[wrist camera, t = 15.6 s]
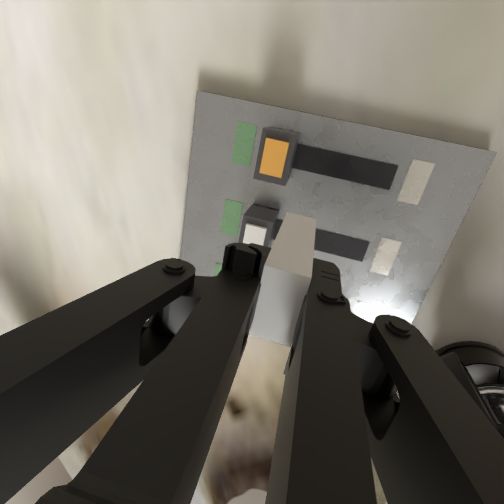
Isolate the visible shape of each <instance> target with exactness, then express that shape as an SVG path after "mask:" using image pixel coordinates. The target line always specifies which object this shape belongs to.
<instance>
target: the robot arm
mask: <svg viewBox="0 0 504 504" xmlns="http://www.w3.org/2000/svg"><path fill="white" fill-rule="evenodd" d="M315 231H316V219H314V218H310V217H306V216H302V215H297V214H293V213H289V212H287V213H286V215H285V218H284V220H283V222H282V225H281V227H280V230H279V232H278V234H277V237H276V239H275V241H274V244H273V246H272V248H270V247H266V246H262V245H258V244H254V243H250V244H246V243H231V244H228V245H226V246H225V251H224V257H223V263H222V269H221V271H220V272H219V273H218V275H217V276H197V275H195V270H196V268H195V267H194V266H193V265H192V264H191V263H189V262H187V261H184V260H181V259H176V258H171V259H163V260H160V261H157V262H155V263H153V264H151V265H148V266H146V267H144V268H142V269H140V270H138V271H136V272H134V273H132V274H129V275H127V276H125V277H123V278H121V279H119V280H117V281H115V282H113V283H110V284H108V285H106V286H104V287H102V288H100V289H98V290H96V291H94V292H91V293H89V294H87V295H85V296H83V297H81V298H79V299H77V300H75V301H72V302H70V303H68V304H66V305H64V306H62V307H60V308H58V309H56V310H53V311H51V312H49V313H47V314H45V315H43V316H41V317H39V318H37V319H35V320H32V321H30V322H28V323H26V324H24V325H22V326H20V327H18V328H16V329H13V330H11V331H9V332H7V333H5V334H3V335H1V336H0V504H5V503H6V502H7V501H8V500H9V499H10V498H11V497H13V496H14V495H15V494H16V493H17V492H18V491H19V490H21V489H22V487H24V486H25V485H26V484H27V483H28V482H29V481H31V480H32V479H33V478H34V477H35V476H36V475H37V474H38V473H39V472H41V471H42V470H43V469H44V468H45V467H46V466H47V465H48V464H50V463H51V462H52V461H53V460H54V459H55V458H56V457H57V456H59V455H60V454H61V453H62V452H63V451H64V450H65V449H66V448H68V447H69V446H70V445H71V444H72V443H73V442H74V441H75V440H77V439H78V438H79V437H80V436H81V435H82V434H83V433H84V432H85V431H87V430H88V429H89V428H90V427H91V426H92V425H93V424H94V423H96V422H97V421H98V420H99V419H100V418H101V417H102V416H103V415H105V414H106V413H107V412H108V411H109V410H110V409H111V408H112V407H114V406H115V405H116V404H117V403H118V402H119V401H120V400H121V399H122V398H124V397H125V396H126V395H127V394H128V393H129V392H130V391H131V390H133V389H134V388H135V387H136V386H137V385H138V384H139V383H140V382H142V381H143V380H144V381H143V382H142V383H141V385H140V386H139V388H138V389H137V391H136V392H135V393H134V395H133V396H132V398H131V399H130V401H129V402H128V403H127V405H126V406H125V408H124V409H123V411H122V412H121V413H120V415H119V416H118V418H117V419H116V421H115V422H114V423H113V425H112V426H111V428H110V429H109V431H108V432H107V433H106V435H105V436H104V438H103V439H102V441H101V442H100V443H99V445H98V446H97V448H96V449H95V451H94V452H93V453H92V455H91V456H90V458H89V459H88V460H87V462H86V463H85V465H84V466H83V468H82V469H81V470H80V472H79V473H78V474H77V475H76V477H75V478H74V479H73V480H72V481H71V482H69V483H68V484H67V485H63V486H57V487H53V488H52V489H51V490H49V491H48V492H47V493H46V494H44V495H43V496H42V497H40V498H39V500H38V501H37V502H36V503H35V504H190V503H191V500H192V497H193V494H194V491H195V489H196V486H197V483H198V480H199V477H200V474H201V471H202V469H203V466H204V463H205V460H206V457H207V454H208V452H209V449H210V446H211V443H212V440H213V437H214V434H215V432H216V429H217V426H218V423H219V420H220V417H221V414H222V412H223V409H224V406H225V403H226V400H227V397H228V394H229V392H230V389H231V386H232V383H233V380H234V377H235V374H236V372H237V369H238V366H239V363H240V360H241V357H242V355H243V352H244V349H245V346H246V343H247V338H248V334H249V335H252V336H255V337H259V338H262V339H265V340H269V341H272V342H276V343H279V344H282V345H286V346H289V347H291V345H292V347H291V350H290V353H289V357H288V360H287V363H286V367H285V370H284V373H283V374H285V375H286V376H285V382H284V389H283V395H282V401H281V408H280V414H279V420H278V426H277V433H276V439H275V445H274V452H273V458H272V464H271V471H270V477H269V483H268V490H267V496H266V502H265V504H377V499H376V492H375V484H374V477H373V470H372V462H373V464H374V467H375V470H376V473H377V475H378V478H379V481H380V484H381V486H382V489H383V492H384V495H385V497H386V500H387V503H388V504H504V438H503V437H502V436H501V434H500V433H499V432H498V431H497V429H496V428H495V427H494V426H493V424H492V423H491V422H490V420H489V419H488V418H487V417H486V415H485V414H484V413H483V412H482V410H481V409H480V408H479V406H478V405H477V404H476V403H475V401H474V400H473V399H472V398H471V396H470V395H469V394H468V392H467V391H466V390H465V389H464V387H463V386H462V385H461V384H460V382H459V381H458V380H457V378H456V377H455V376H454V375H453V373H452V372H451V371H450V369H449V368H448V367H447V366H446V364H445V363H444V362H443V361H442V359H441V358H440V357H439V355H438V354H437V353H436V352H435V350H434V349H433V348H432V347H431V345H430V344H429V343H428V341H427V340H426V339H425V338H424V336H423V335H422V334H421V333H420V331H419V330H418V329H417V328H416V327H415V326H413V325H412V324H410V323H409V322H407V321H406V320H405V319H401V318H400V317H397V316H392V315H382V314H381V315H378V316H376V318H375V320H374V322H373V323H372V322H370V321H367V320H365V319H363V318H361V317H359V316H357V315H355V314H354V313H353V312H351V308H350V303H349V301H348V299H347V298H346V297H345V296H344V295H343V294H342V287H341V277H340V269H339V268H338V267H337V266H336V265H335V263H332V262H328V261H324V260H320V259H317V258H313V255H314V243H315ZM148 319H149V320H148ZM147 320H148V321H147ZM249 330H250V331H249ZM292 341H293V343H292ZM397 390H398V393H399V397H398V395H397V394H396V391H397ZM399 398H400V399H399ZM371 459H372V462H371Z"/></svg>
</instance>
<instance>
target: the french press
mask: <svg viewBox="0 0 504 504" xmlns="http://www.w3.org/2000/svg"><path fill="white" fill-rule="evenodd" d="M436 353H437V354H438V355H439V357H440V358H441V359H442V361H443V362H444V363H445V364H446V366H447V367H448V368H449V369H450V371H451V372H452V373H453V375H454V376H455V377H456V378H457V380H458V381H459V382H460V384H461V385H462V386H463V387H464V389H465V390H466V391H467V392H468V394H469V395H470V396H471V398H472V399H473V400H474V401H475V403H476V404H477V405H478V406H479V408H480V409H481V410H482V412H483V413H484V414H485V415H486V417H487V418H488V419H489V420H490V422H491V423H492V424H493V426H494V427H495V428H496V429H497V431H498V432H499V433H500V434H501V436H502V437H503V438H504V353H503V352H502V351H500V350H499V349H497V348H496V347H493V346H491V345H488V344H484V343H480V342H460V343H455V344H451V345H449V346H446V347H444V348H442V349H440V350H438V351H437V352H436ZM474 364H487V365H494V366H498V367H500V371H501V372H500V378H499V381H498V382H497V384H481V385H475V383H474V381H473V379H472V377H471V376H470V374H469V372H468V370H467V368H466V367H465V366H468V365H474Z"/></svg>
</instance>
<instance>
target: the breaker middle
mask: <svg viewBox="0 0 504 504" xmlns="http://www.w3.org/2000/svg"><path fill="white" fill-rule="evenodd" d="M278 213H279V211H276V210H272V209H268V208H264V207H260V206H256V205H251V206H250V207H249V209H248V210H247V211H246V212H245V214H244V215H243V220H242V225H241V231H240V236H239V242H238V243H246V244H250V243H254V244H258V245H262V246H266V247H270V248H271V244H272V239H273V235H274V231H275V226H276V222H277V218H278Z"/></svg>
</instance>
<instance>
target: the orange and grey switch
mask: <svg viewBox="0 0 504 504" xmlns="http://www.w3.org/2000/svg"><path fill="white" fill-rule="evenodd" d="M299 136H300V133H299V132H294V131H289V130H285V129H280V128H275V127H271V126H269V127H264V128H263V129H262V134H261V140H260V145H259V151H258V156H257V161H256V167H255V172H254V177H253V179H257V180H261V181H265V182H270V183H274V184H278V185H282V186H286V184H287V182H288V180H289V179H290V175H291V170H292V166H293V162H294V158H295V153H296V149H297V145H298V141H299Z"/></svg>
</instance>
